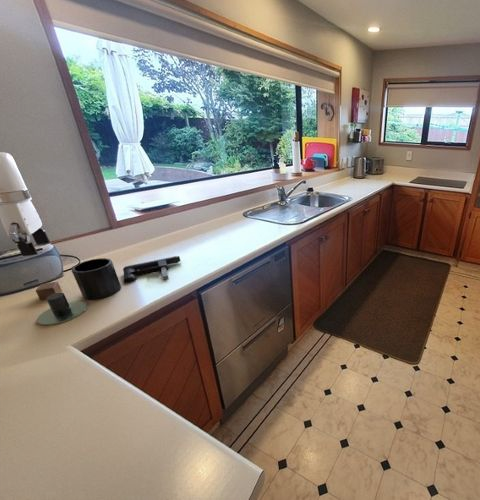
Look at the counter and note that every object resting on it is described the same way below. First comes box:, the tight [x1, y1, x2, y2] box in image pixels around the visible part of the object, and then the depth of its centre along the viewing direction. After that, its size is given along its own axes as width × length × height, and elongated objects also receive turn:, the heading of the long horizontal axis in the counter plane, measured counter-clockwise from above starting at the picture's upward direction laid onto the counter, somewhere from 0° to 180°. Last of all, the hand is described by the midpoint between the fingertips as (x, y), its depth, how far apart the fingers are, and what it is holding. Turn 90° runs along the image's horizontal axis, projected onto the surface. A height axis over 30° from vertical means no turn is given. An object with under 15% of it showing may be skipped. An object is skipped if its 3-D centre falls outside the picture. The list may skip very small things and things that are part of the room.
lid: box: [36, 292, 89, 327], centre depth 87 cm, size 12×12×7 cm
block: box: [35, 281, 63, 301], centre depth 97 cm, size 4×4×4 cm
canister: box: [70, 257, 122, 301], centre depth 98 cm, size 10×10×12 cm
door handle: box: [122, 255, 181, 284], centre depth 114 cm, size 3×20×16 cm
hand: (37, 249), depth 90 cm, fingers open, 9 cm apart
